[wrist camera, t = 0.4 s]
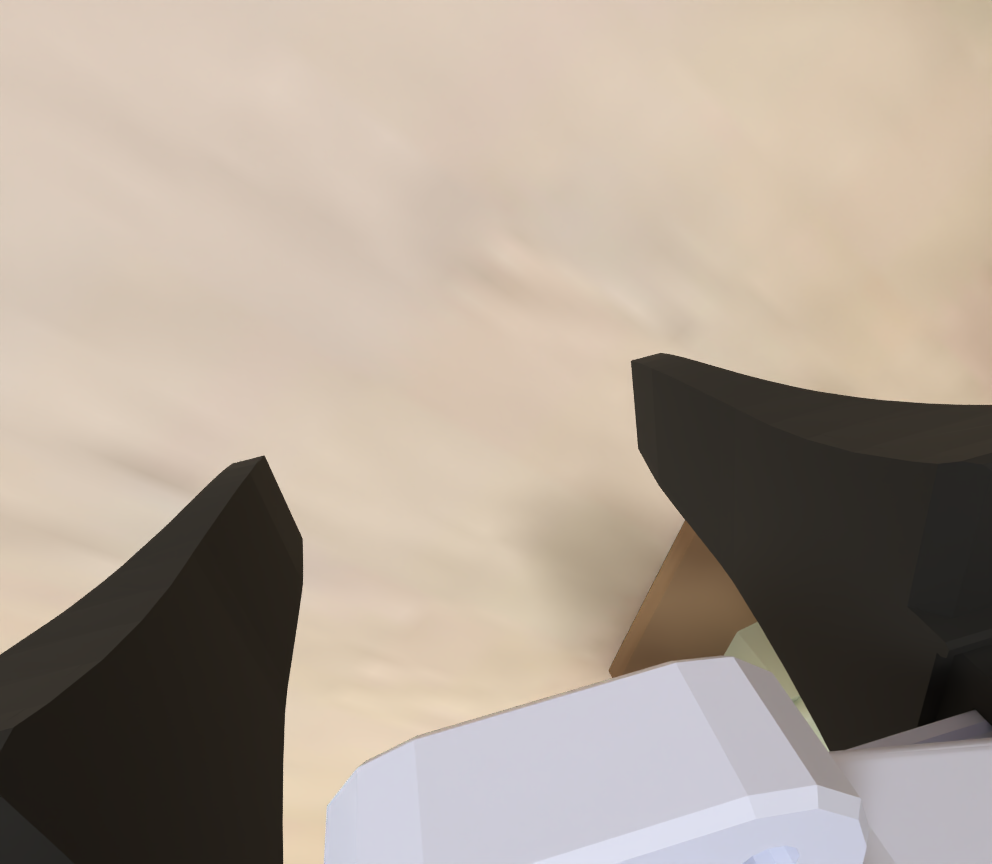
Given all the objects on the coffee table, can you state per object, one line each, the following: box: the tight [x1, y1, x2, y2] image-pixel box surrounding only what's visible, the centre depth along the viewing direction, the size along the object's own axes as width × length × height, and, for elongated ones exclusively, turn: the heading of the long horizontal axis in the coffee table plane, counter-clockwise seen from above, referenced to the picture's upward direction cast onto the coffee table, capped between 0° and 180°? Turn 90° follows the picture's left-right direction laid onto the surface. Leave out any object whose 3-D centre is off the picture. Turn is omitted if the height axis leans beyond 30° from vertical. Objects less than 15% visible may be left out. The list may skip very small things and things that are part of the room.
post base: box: [609, 520, 757, 678], centre depth 26 cm, size 14×10×4 cm
